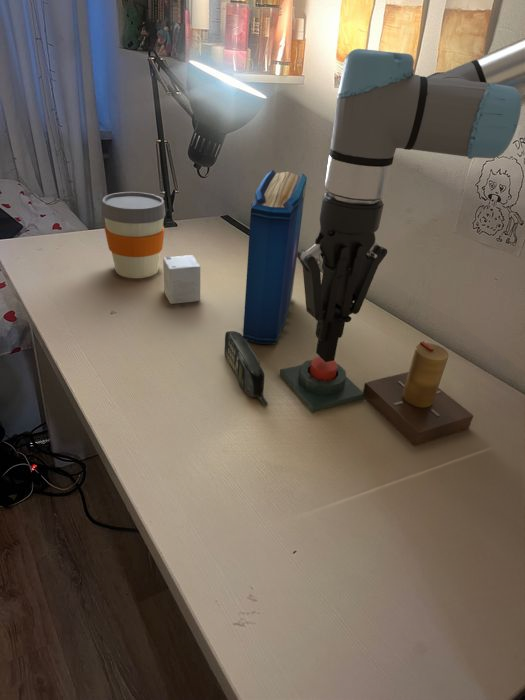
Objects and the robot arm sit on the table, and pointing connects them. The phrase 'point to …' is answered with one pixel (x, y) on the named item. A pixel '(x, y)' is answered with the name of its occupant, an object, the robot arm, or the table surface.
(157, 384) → the table surface
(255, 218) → the book
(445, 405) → the plate
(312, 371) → the bell button
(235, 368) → the mobile phone
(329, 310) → the robot arm
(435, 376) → the lock knob
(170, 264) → the white cardboard box
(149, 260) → the reusable coffee cup
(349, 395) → the push button base
